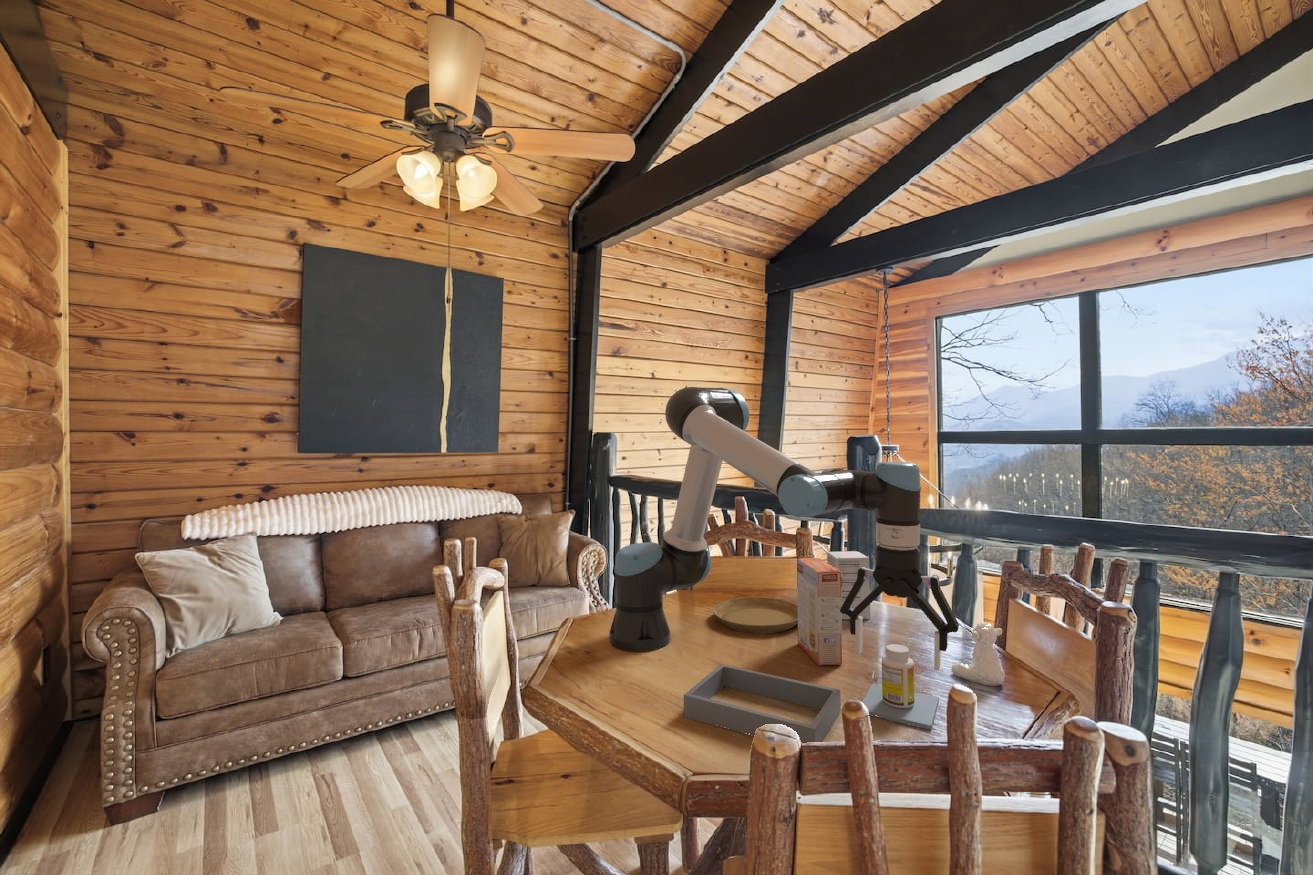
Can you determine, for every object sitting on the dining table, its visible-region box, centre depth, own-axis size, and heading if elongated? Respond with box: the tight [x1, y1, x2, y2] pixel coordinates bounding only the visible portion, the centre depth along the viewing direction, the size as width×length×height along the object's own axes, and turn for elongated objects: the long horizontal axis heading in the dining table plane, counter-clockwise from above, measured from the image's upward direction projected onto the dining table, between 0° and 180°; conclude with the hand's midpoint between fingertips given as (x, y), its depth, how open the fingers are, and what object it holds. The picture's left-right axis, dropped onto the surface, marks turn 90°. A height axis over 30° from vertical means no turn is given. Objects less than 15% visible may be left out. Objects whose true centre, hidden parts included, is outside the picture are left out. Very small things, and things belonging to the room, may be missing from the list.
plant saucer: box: [712, 596, 798, 634], centre depth 156 cm, size 24×24×3 cm
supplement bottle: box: [881, 643, 915, 709], centre depth 107 cm, size 6×6×10 cm
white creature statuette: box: [951, 622, 1006, 687], centre depth 118 cm, size 10×9×12 cm
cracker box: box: [796, 557, 843, 666], centre depth 132 cm, size 14×6×21 cm, turn 4°
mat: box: [862, 683, 940, 731], centre depth 107 cm, size 12×12×1 cm
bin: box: [683, 663, 842, 743], centre depth 105 cm, size 24×16×4 cm, turn 58°
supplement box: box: [826, 550, 871, 620], centre depth 160 cm, size 10×9×17 cm
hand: (896, 659), depth 107 cm, fingers open, 13 cm apart
